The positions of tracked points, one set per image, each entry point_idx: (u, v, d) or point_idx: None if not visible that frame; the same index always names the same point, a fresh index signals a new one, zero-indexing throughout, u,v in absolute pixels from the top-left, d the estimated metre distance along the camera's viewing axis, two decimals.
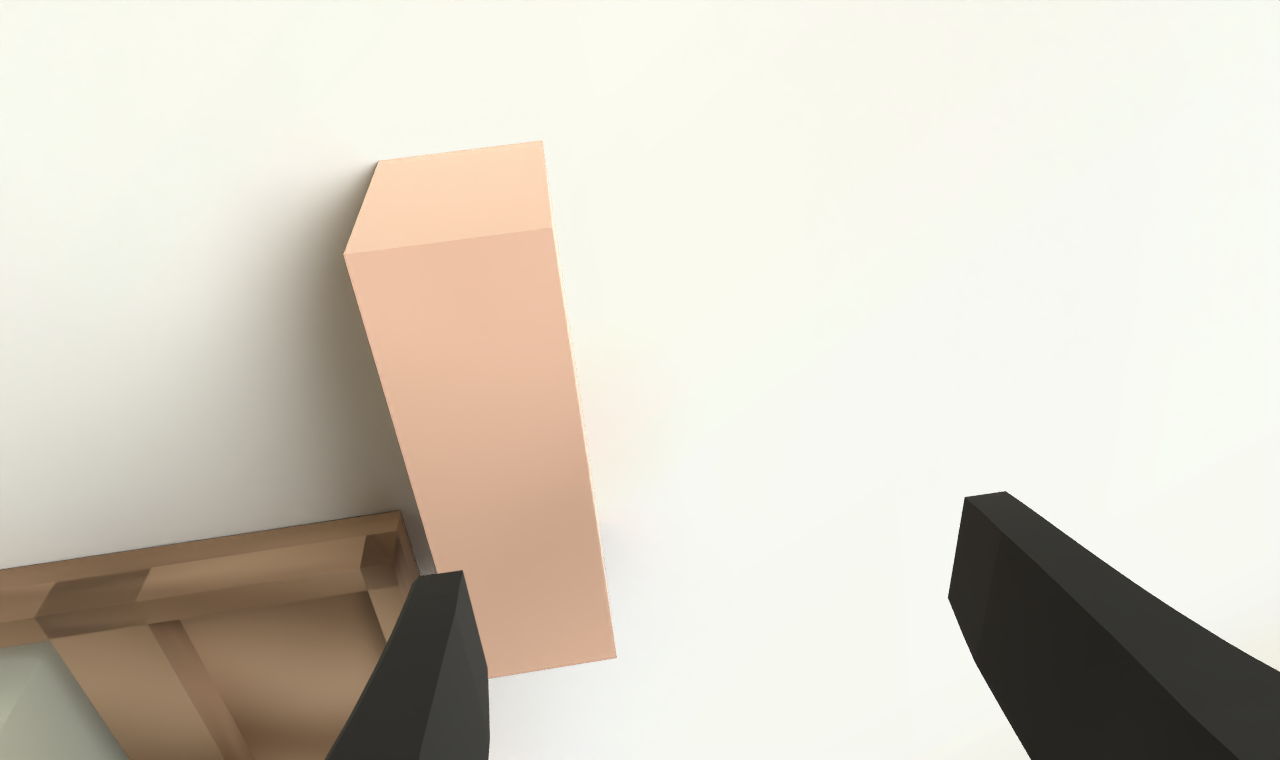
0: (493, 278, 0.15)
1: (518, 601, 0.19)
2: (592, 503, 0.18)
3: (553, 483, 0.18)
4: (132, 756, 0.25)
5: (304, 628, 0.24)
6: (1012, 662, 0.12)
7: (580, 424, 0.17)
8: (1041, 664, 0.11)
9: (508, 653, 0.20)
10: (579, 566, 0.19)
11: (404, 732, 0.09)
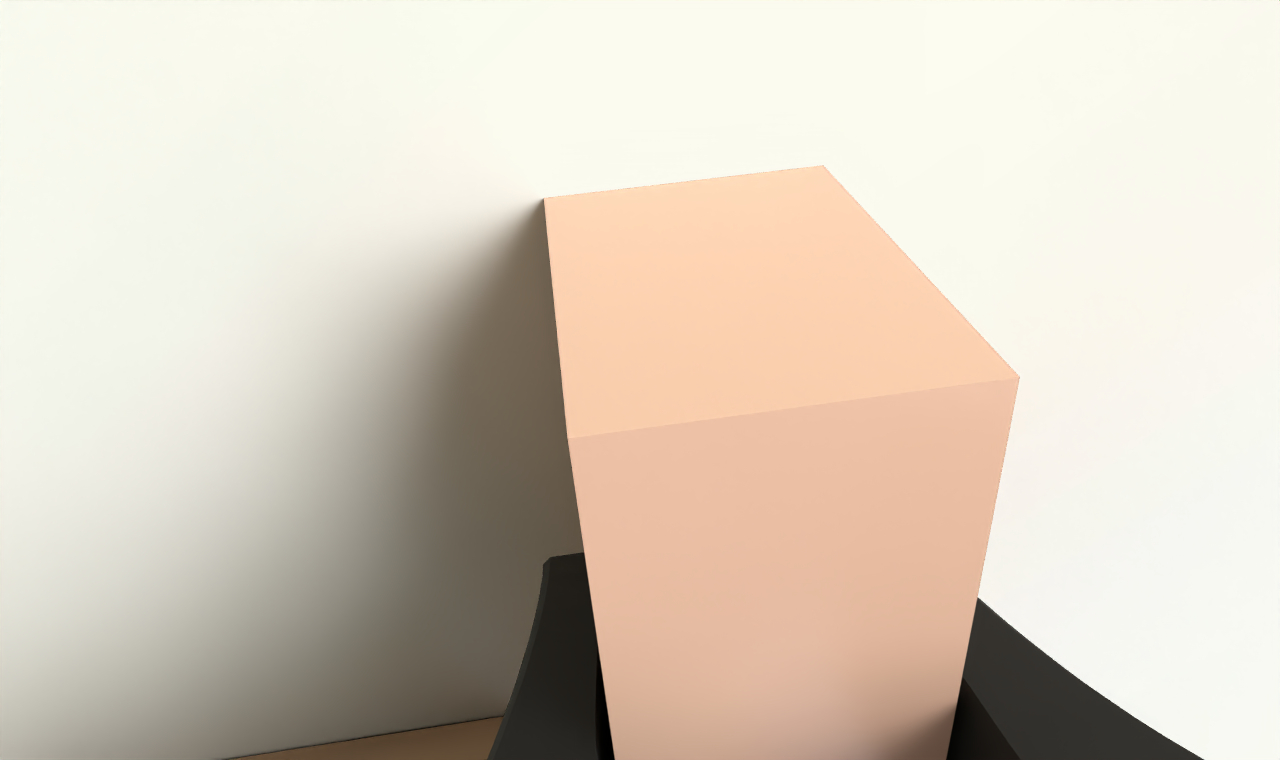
0: (871, 476, 0.07)
1: None
2: None
3: None
4: None
5: None
6: None
7: (951, 714, 0.09)
8: None
9: None
10: None
11: (574, 706, 0.09)
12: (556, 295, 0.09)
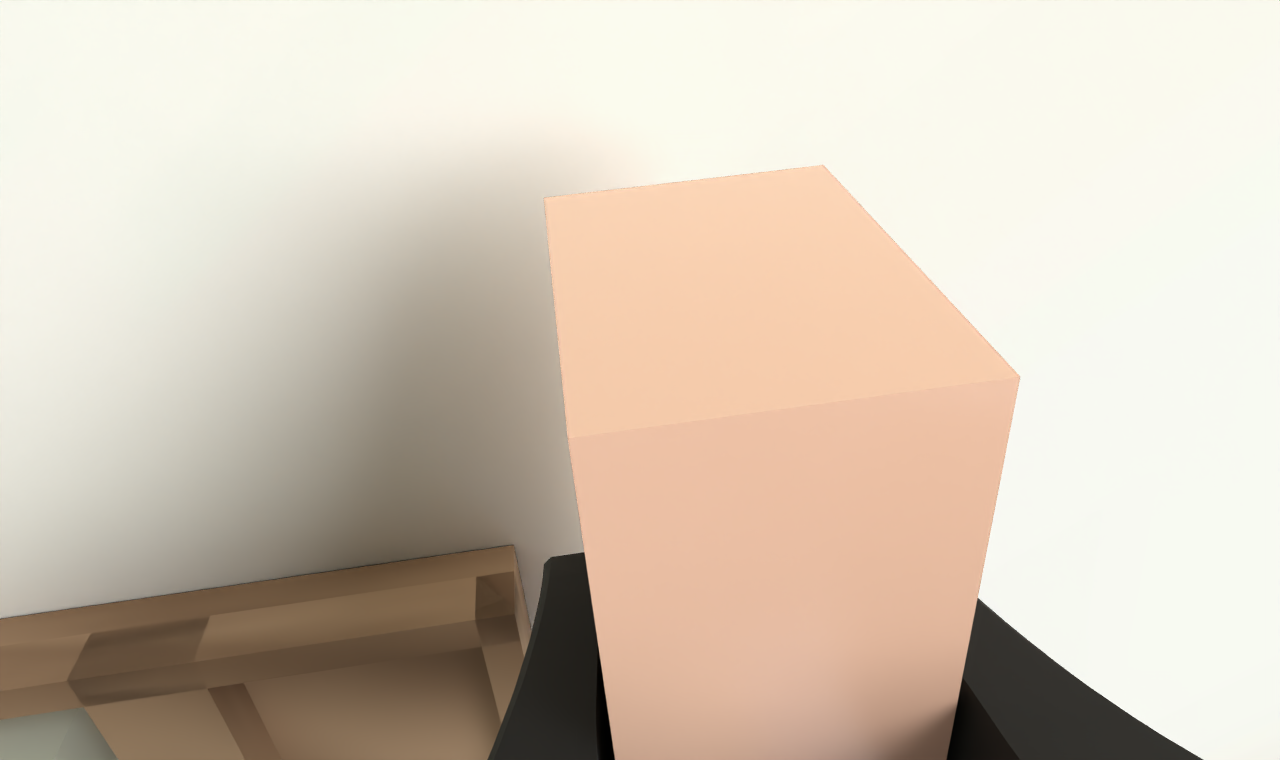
0: (872, 476, 0.07)
1: None
2: None
3: None
4: None
5: (391, 686, 0.20)
6: None
7: (952, 714, 0.09)
8: None
9: None
10: None
11: (574, 705, 0.09)
12: (556, 295, 0.08)
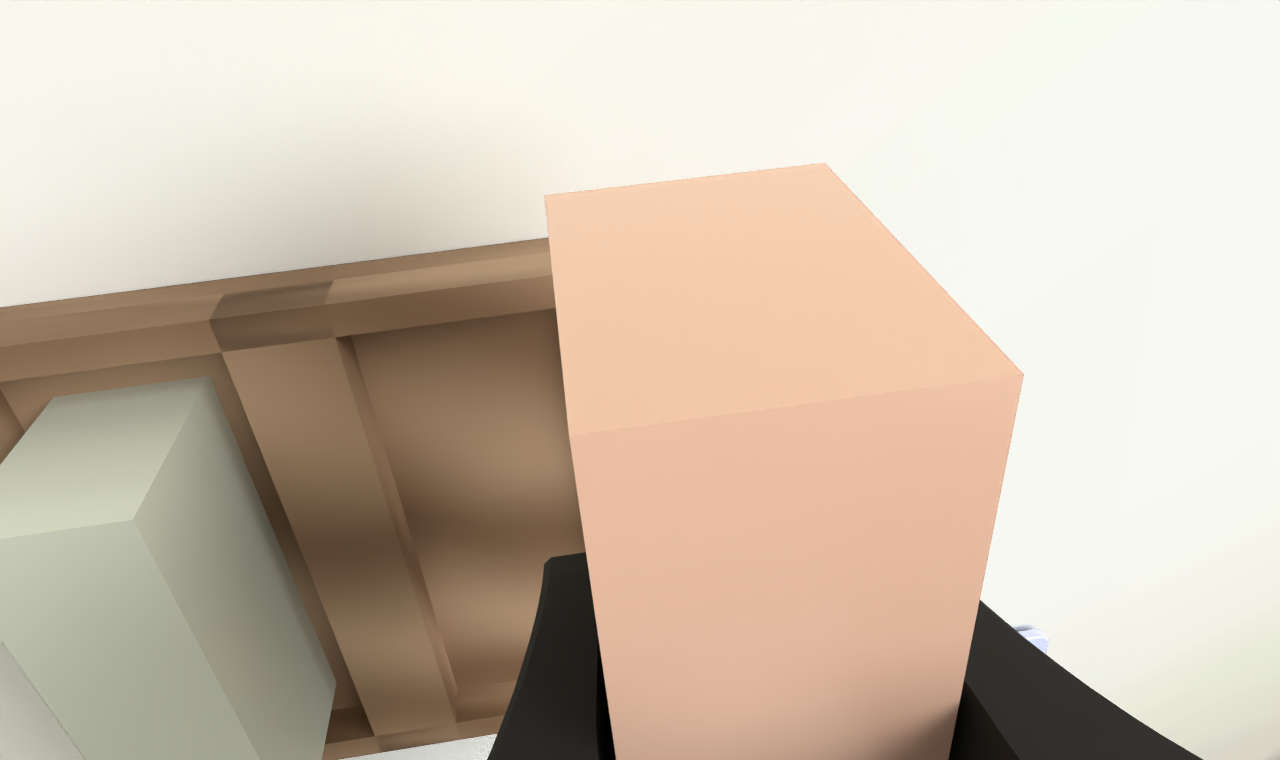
0: (874, 474, 0.07)
1: None
2: None
3: None
4: (294, 522, 0.21)
5: (493, 374, 0.21)
6: None
7: (954, 714, 0.09)
8: None
9: None
10: None
11: (575, 705, 0.09)
12: (557, 292, 0.08)
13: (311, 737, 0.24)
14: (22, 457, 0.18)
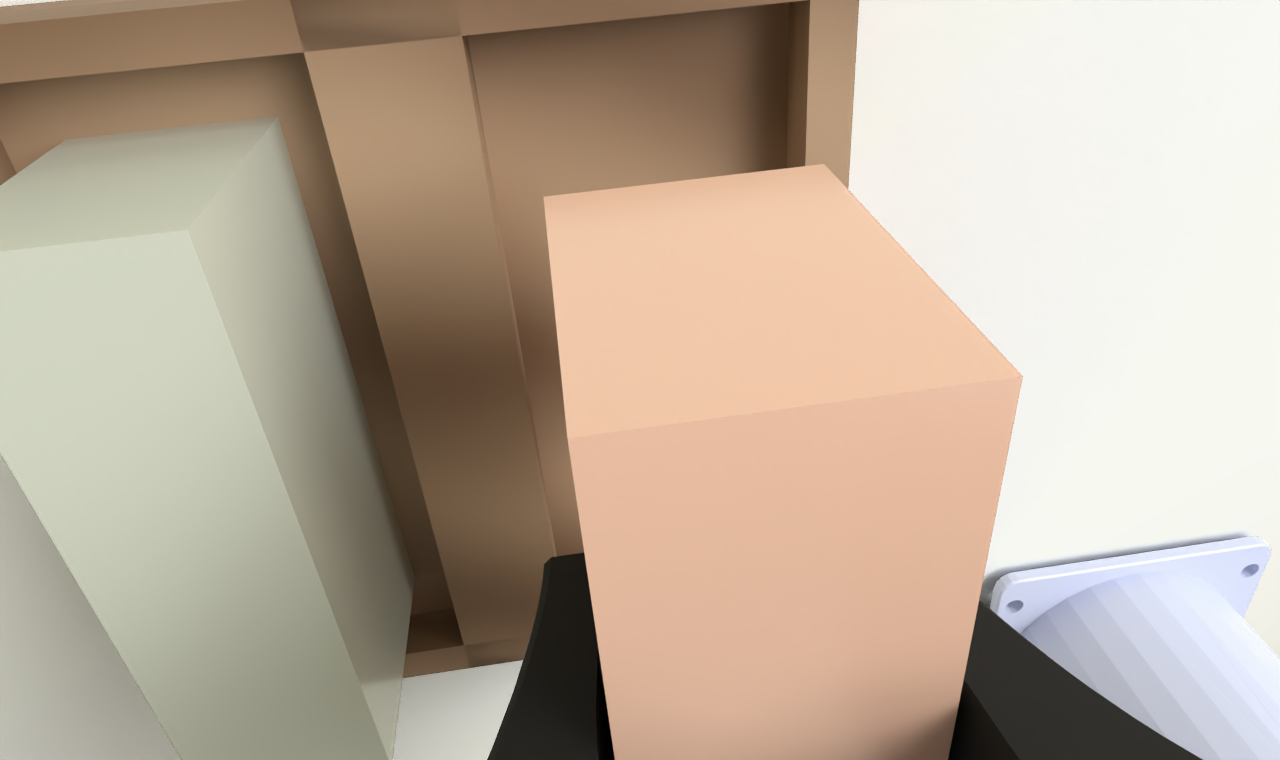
0: (872, 476, 0.07)
1: None
2: None
3: None
4: (385, 331, 0.16)
5: (654, 133, 0.16)
6: None
7: (953, 715, 0.09)
8: None
9: None
10: None
11: (574, 706, 0.09)
12: (556, 294, 0.08)
13: (393, 634, 0.18)
14: (22, 185, 0.13)
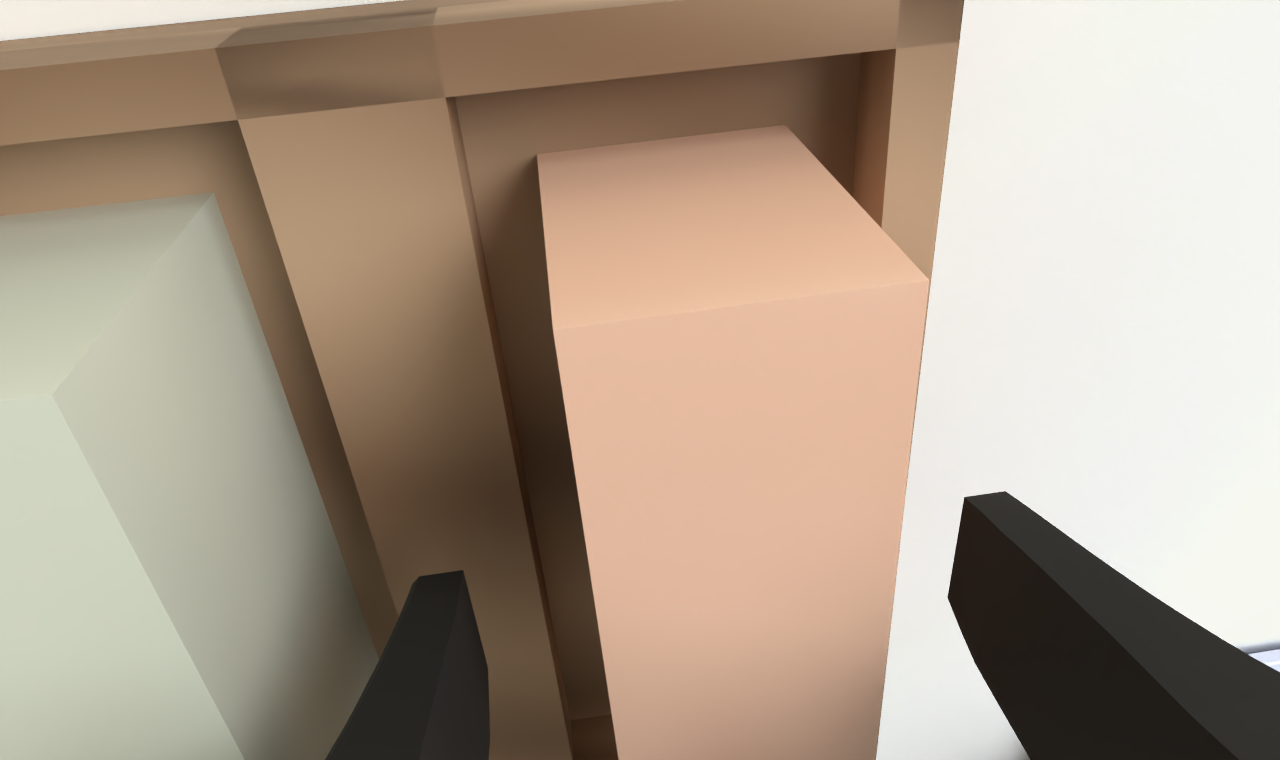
0: (808, 367, 0.08)
1: None
2: (879, 702, 0.11)
3: (829, 678, 0.11)
4: (353, 453, 0.13)
5: None
6: (1012, 662, 0.12)
7: (892, 593, 0.10)
8: (1041, 664, 0.11)
9: None
10: None
11: (405, 732, 0.09)
12: (546, 228, 0.10)
13: None
14: None
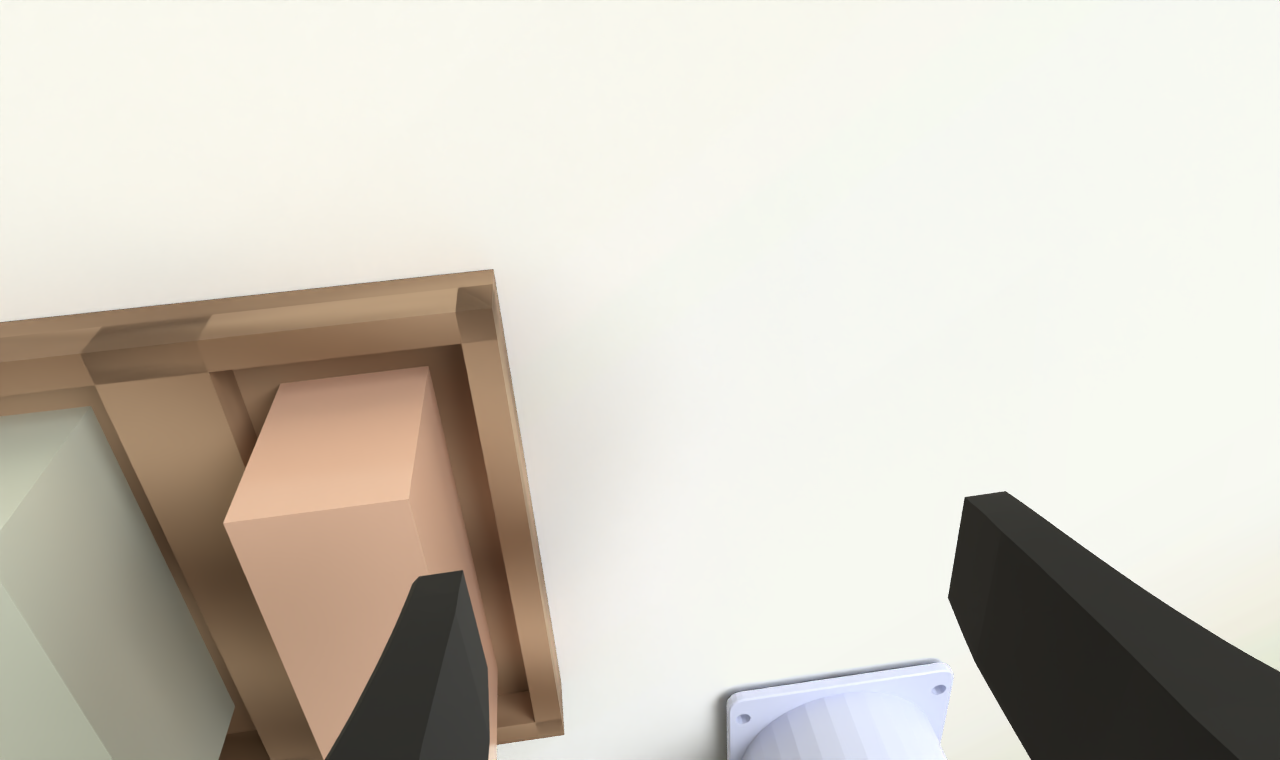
0: (359, 536, 0.17)
1: None
2: None
3: None
4: (177, 551, 0.22)
5: None
6: (1012, 662, 0.12)
7: None
8: (1041, 664, 0.11)
9: None
10: None
11: (404, 732, 0.09)
12: (255, 449, 0.19)
13: None
14: None
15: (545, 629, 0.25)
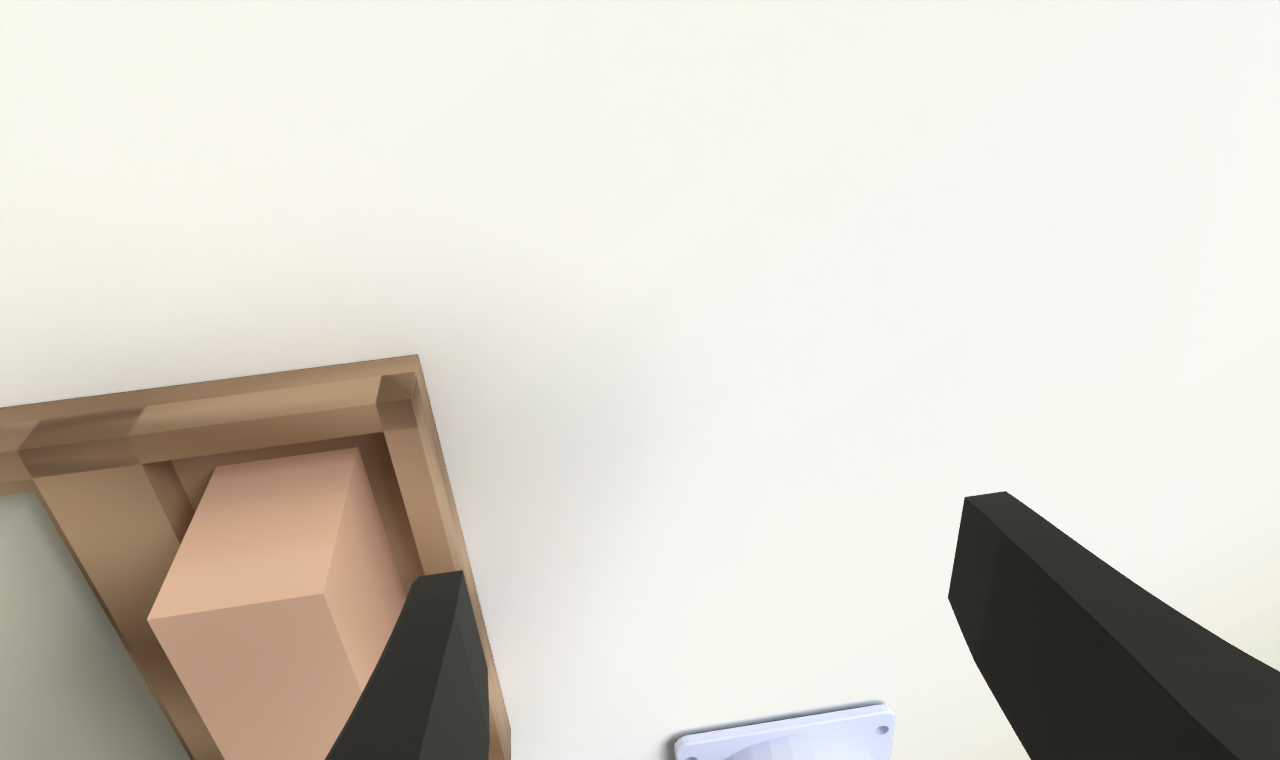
0: (279, 627, 0.18)
1: None
2: None
3: None
4: (122, 626, 0.23)
5: None
6: (1012, 662, 0.12)
7: None
8: (1041, 664, 0.11)
9: None
10: None
11: (404, 732, 0.09)
12: (184, 539, 0.20)
13: None
14: None
15: None
